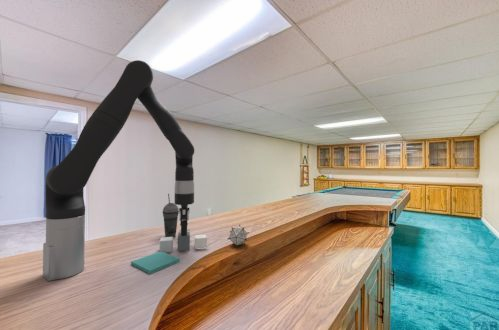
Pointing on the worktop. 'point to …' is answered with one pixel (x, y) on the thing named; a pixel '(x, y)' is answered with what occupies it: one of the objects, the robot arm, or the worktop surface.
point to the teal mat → (155, 262)
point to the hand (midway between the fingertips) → (184, 232)
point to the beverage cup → (170, 219)
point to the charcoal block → (183, 242)
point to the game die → (238, 235)
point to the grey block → (166, 244)
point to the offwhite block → (200, 241)
